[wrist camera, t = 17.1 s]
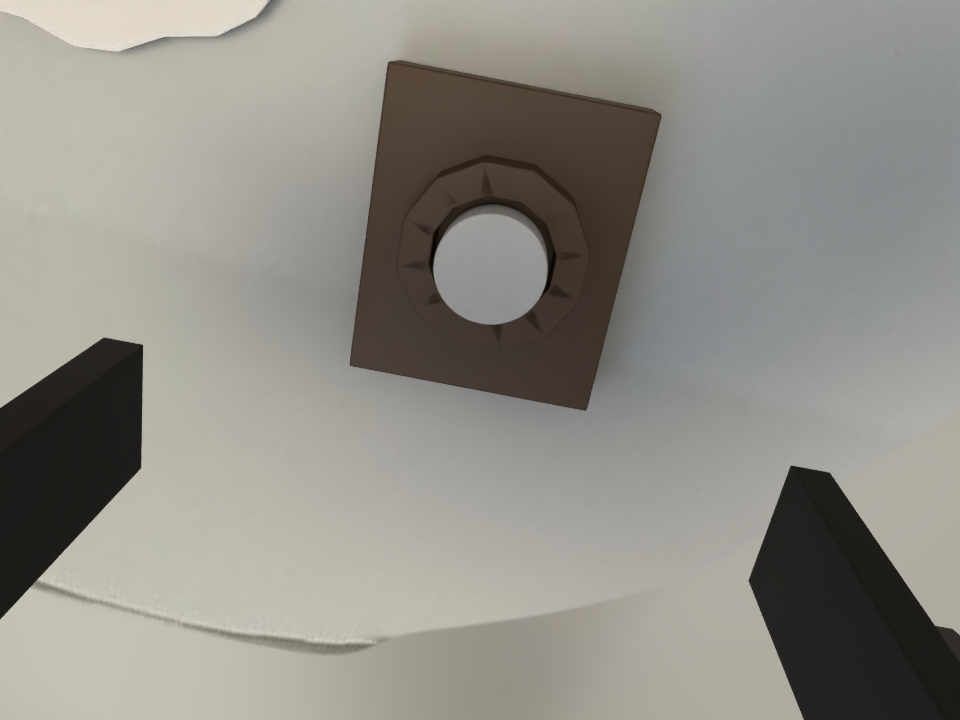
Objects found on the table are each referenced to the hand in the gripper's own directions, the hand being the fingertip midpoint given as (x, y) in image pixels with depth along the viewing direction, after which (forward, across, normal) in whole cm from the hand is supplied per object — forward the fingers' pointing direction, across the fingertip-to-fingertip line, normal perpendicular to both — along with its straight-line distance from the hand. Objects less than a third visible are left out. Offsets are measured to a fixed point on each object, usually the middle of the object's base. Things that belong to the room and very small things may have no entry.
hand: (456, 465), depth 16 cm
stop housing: (+19, 0, 0) cm, 19 cm away
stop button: (+15, 0, 0) cm, 15 cm away
